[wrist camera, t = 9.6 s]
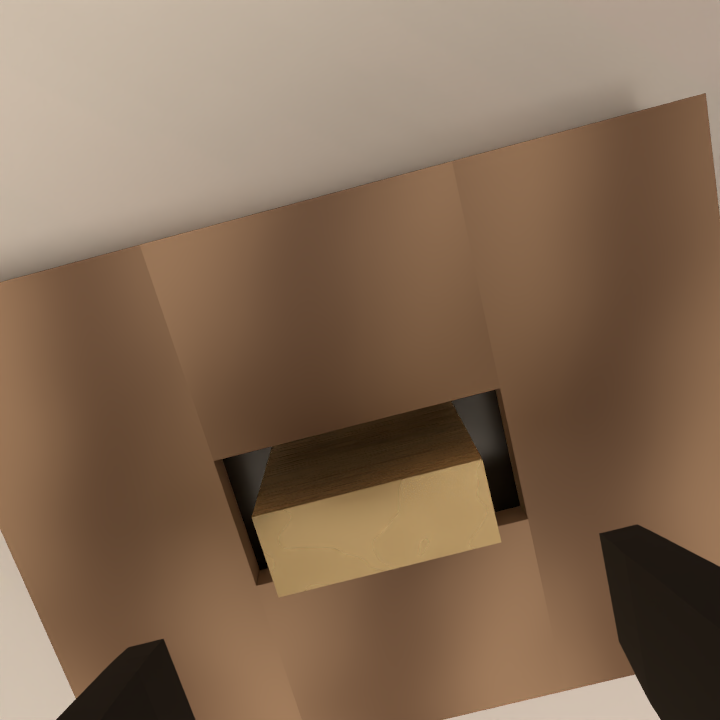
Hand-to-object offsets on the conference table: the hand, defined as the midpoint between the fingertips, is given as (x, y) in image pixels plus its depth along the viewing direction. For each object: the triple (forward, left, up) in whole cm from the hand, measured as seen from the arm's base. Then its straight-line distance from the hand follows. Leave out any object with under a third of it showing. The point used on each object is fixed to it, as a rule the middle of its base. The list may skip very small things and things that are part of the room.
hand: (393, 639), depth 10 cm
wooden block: (0, 0, -9) cm, 9 cm away
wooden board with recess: (0, 0, -8) cm, 8 cm away
